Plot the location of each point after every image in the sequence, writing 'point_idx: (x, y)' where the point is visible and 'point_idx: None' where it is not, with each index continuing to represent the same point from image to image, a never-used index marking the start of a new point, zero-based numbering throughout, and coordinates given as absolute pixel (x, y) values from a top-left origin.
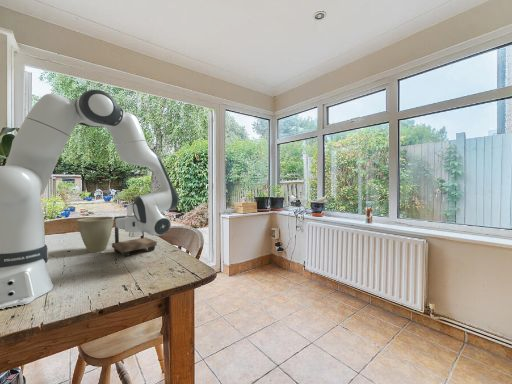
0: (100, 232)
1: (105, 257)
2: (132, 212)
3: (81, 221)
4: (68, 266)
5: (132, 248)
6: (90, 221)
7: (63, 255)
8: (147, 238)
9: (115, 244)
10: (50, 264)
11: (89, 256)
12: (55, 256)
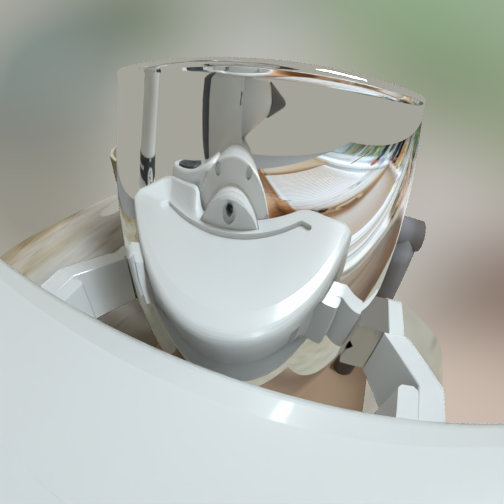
0: None
1: None
2: (122, 221)
3: (113, 148)
4: None
5: None
6: (112, 160)
7: (121, 242)
8: (358, 401)
9: (160, 346)
10: (46, 274)
11: (117, 308)
12: (112, 235)
